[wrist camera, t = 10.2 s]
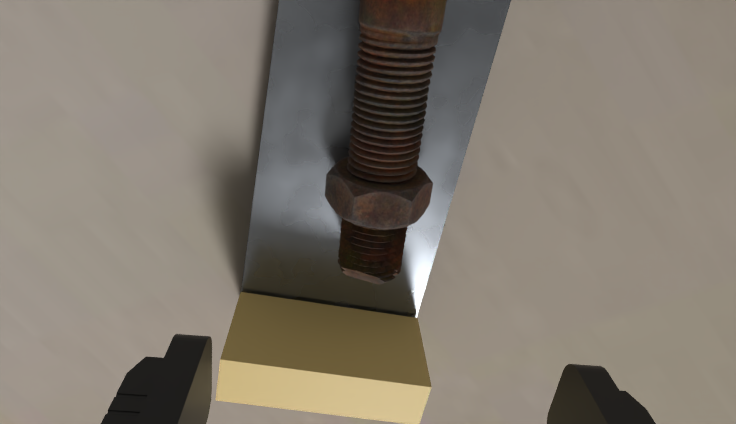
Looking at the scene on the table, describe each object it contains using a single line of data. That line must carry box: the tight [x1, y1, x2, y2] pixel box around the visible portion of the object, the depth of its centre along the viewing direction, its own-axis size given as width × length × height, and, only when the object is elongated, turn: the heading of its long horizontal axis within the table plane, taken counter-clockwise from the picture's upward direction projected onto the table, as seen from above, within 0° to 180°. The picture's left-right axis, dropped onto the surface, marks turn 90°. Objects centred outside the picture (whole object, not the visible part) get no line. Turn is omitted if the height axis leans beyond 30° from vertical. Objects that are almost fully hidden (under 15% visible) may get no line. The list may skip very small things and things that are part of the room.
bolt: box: [325, 0, 447, 285], centre depth 24 cm, size 6×5×15 cm
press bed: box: [241, 0, 511, 318], centre depth 25 cm, size 10×24×8 cm, turn 168°
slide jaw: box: [216, 292, 431, 424], centre depth 29 cm, size 10×2×6 cm, turn 78°
